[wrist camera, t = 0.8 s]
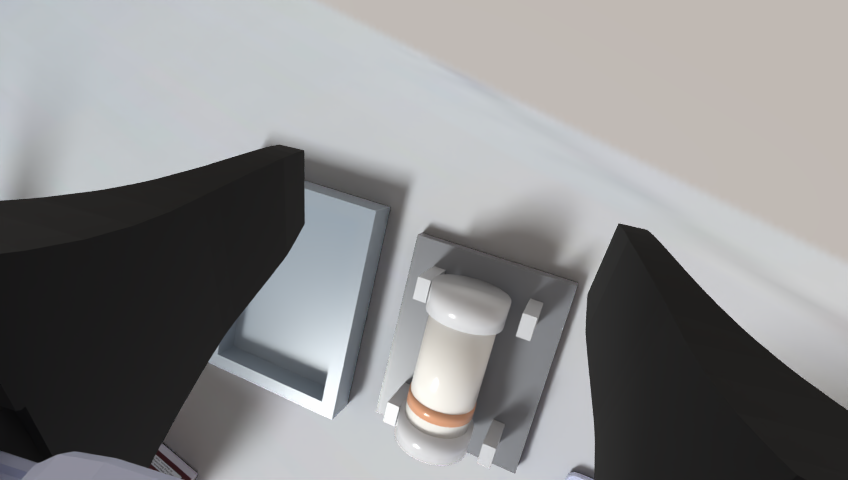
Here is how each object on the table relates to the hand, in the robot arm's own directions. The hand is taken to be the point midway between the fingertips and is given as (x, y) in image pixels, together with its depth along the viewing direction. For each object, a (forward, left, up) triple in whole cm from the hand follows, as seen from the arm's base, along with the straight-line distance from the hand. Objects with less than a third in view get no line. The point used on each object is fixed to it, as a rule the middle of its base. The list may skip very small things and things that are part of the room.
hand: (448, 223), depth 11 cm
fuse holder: (-12, +1, -19) cm, 22 cm away
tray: (-12, +14, -19) cm, 26 cm away
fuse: (-12, +1, -18) cm, 21 cm away
